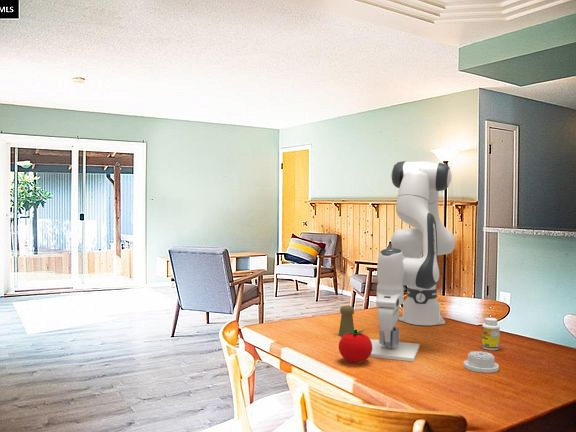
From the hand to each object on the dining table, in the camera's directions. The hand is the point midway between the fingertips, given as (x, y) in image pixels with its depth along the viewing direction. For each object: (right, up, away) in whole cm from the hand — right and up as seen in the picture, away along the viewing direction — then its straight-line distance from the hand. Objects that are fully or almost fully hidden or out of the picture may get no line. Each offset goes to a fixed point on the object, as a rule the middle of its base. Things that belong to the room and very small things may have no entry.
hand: (389, 338), depth 176 cm
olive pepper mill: (-12, -4, +20) cm, 24 cm away
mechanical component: (+24, -5, -17) cm, 30 cm away
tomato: (-13, -5, -12) cm, 18 cm away
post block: (0, -4, 0) cm, 4 cm away
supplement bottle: (+35, -5, +4) cm, 36 cm away
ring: (0, -2, 0) cm, 2 cm away
